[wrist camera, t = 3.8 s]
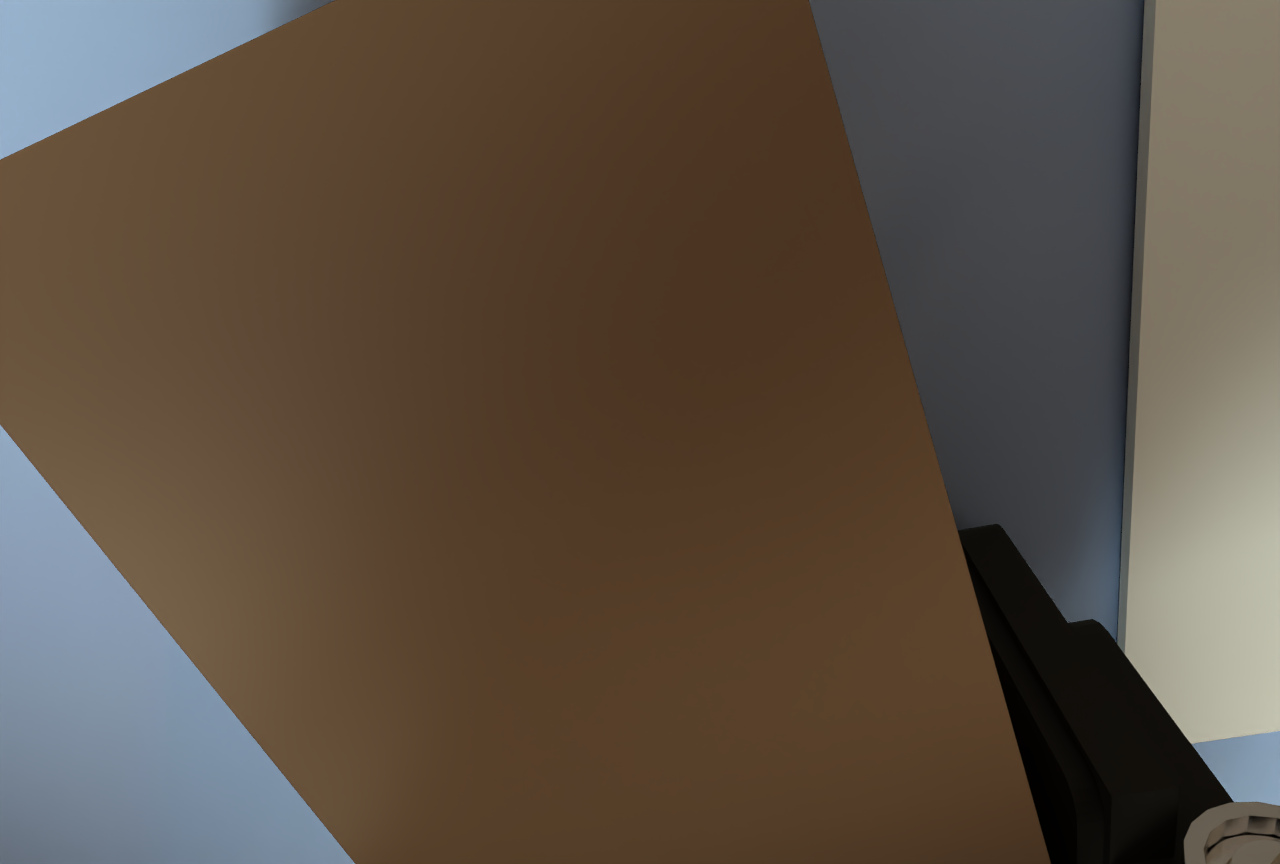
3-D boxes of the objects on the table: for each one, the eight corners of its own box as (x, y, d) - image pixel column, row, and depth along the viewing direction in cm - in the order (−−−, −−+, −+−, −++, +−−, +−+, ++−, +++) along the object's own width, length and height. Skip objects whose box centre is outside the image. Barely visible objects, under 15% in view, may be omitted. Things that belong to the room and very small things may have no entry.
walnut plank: (260, 110, 9) (-155, 232, 4) (688, -85, 8) (751, -196, 3) (765, 1013, 15) (817, 1435, 11) (1024, 953, 14) (1195, 1381, 10)
